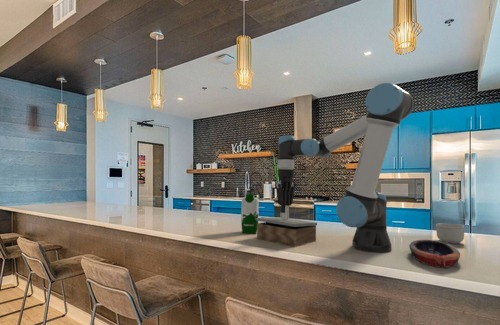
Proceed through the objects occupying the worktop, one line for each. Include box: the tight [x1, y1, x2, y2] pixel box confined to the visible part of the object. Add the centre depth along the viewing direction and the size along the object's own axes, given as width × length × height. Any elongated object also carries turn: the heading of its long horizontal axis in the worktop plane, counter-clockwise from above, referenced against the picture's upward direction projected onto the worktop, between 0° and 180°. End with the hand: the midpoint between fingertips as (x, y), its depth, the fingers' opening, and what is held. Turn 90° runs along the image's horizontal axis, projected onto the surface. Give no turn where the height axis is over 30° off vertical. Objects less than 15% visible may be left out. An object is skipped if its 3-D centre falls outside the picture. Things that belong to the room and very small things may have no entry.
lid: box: [256, 216, 318, 227], centre depth 139 cm, size 23×17×2 cm
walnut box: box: [256, 222, 317, 248], centre depth 139 cm, size 22×16×7 cm
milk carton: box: [240, 193, 260, 235], centre depth 156 cm, size 9×9×20 cm
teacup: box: [435, 222, 465, 245], centre depth 138 cm, size 14×11×8 cm
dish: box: [409, 239, 461, 269], centre depth 110 cm, size 16×31×5 cm, turn 152°
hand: (285, 219), depth 139 cm, fingers closed
